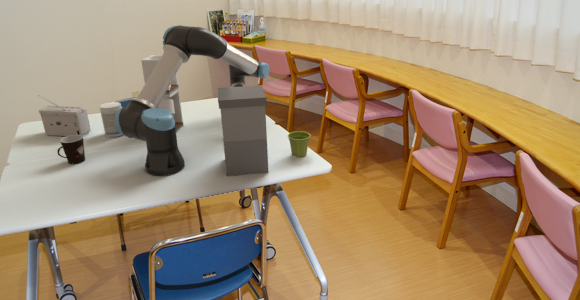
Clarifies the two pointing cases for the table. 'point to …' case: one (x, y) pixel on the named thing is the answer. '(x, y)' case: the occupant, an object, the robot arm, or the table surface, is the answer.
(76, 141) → the coffee mug
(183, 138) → the table surface
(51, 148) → the table surface
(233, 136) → the grey box
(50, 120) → the stereo radio cassette player
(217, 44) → the robot arm
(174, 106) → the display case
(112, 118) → the supplement tub
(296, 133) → the plant pot
